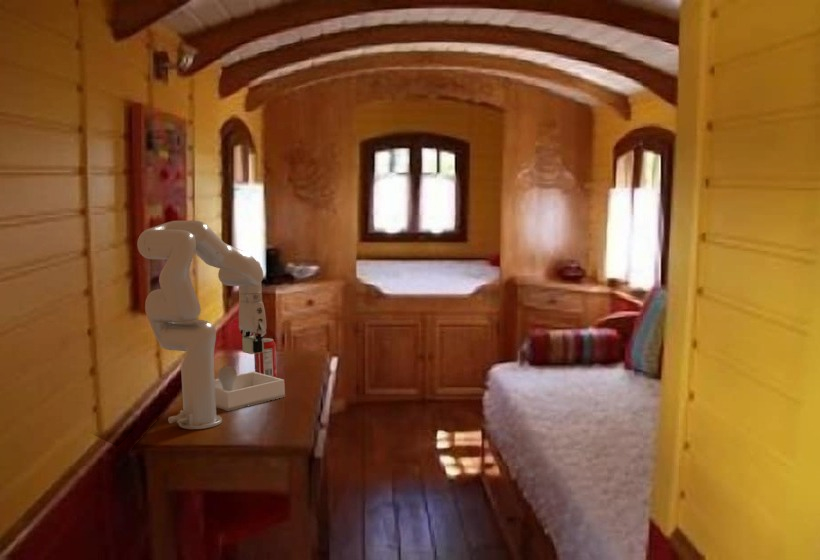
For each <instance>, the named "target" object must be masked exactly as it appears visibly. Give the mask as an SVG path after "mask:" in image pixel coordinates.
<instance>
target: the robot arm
mask: <svg viewBox="0 0 820 560" xmlns="http://www.w3.org/2000/svg"><path fill="white" fill-rule="evenodd" d="M136 245H137V250H138V253H139V254H140V255H141V256H142V257H143V258H145V259H149V260H166V262H165V264H164V266H163V268H162V269H161V272H160V274H159V276H158V277H159V278H158V282H159V288H158V289H154V290H152V291H150V293H148V295H147V296H146V299H145V303H144V305H145V306H144V310H145V314H146V319H148V320H147V321H148V322H149V325H150V327H151V329H152V332H153V334H154V337H155V338H156V341H157V342H158V344H159V345H160V347H161V348H162V349H165V350H167V351H179V352H186V353H187V354H186V356H185V357H184V359H183V361H182V362H181V367H180V368H181V369H180V371H181V372H180V374H181V390H182V391H181V392H182V408H183V409H181V410H180V411H179V413H178V414H176V415H173V416H168V419H167V421H168V423H169V424H174V423H177V424H178V427H180V428H182V429H185V430H205V429H209V428H214V427H216V426H219V425H220V424H221V423H222V422H223V419H222V418H223V417H222V416H220V415H219V414H217V407H216V398H215V380H216V379H215V345H216V342H217V341H216V340H217V330H216V328H215V326H214V324H212V323H211V322H210V321H208V320H203V319H198V318H199V316H200V315H201V303H200V301H199V298H198V296H197V293H196V291H195V288H194V286H193V285H194V284H193V282H192V280H191V276H190V268H191V265H192V264H191V263H192V261H193V258H194V255H196V256H197V257H199V258H200V260H201V261H203V263H204V264H206V265H208V266H210V267H213V268H217V269H218V277H217V278H218V280H219V281H220V283H221V284H223V285H224V286H229V287H238V302H239V304H238V329H239V332H240V334H241V337H242V338H243V337H249V336H253V337H254V341H253V351H254V353H258V352H262V340H263V338H265V337H264V336H265V335H266V334H267V317H266V309H265V306H264V302H263V292H262V291H263V289H262V287H263V285H262V281H263V280H264V272H263V268H262V265H261V263H260V262H259V261H258V260H256V258H255V257H253V255H251V254H249V253H248V252H246V251H244V250H241V249H239V248H237V247H235V246H232V245H230V244H228V243H225V242H224V241H223V240H222V238H220V236H218V235H217V234H216V233H215V231H213V229H211V227H210V226H208V225H207V224H206V223H205V222H203V221H200V220H171V221H167V222H165V223H162V224H159V225H156V226H153V227H151V228H148V229H145V230H144V231H142V232H141V233H140V234H139V237H138V238H137V244H136Z"/></svg>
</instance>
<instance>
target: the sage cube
mask: <svg viewBox="0 0 820 560" xmlns="http://www.w3.org/2000/svg"><path fill="white" fill-rule="evenodd" d="M241 341H242V353H245V354H249V355H254V354H256V353H254V351H253V341H254V337H253V335H251V336H249V337H243V338H242V339H241ZM262 352H264V343H263V340H262ZM258 353H260V352H258Z"/></svg>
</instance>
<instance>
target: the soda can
mask: <svg viewBox="0 0 820 560" xmlns="http://www.w3.org/2000/svg"><path fill="white" fill-rule="evenodd" d="M263 343H264V352H260V353H256V354H253V355H254V356H253V357H254V358H253V360H254V361H253V362H254V372H257V373H261V374H265V375H269V376H272V377H276V378H278V377H277V376H278V372H277V371H278V369H277V368H278V367H277V349H276V348H277V347H276V345H277V344H276V342H275V341H274V339H273V338H270V337H268V338H267V337H263Z"/></svg>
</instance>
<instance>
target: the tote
mask: <svg viewBox="0 0 820 560" xmlns="http://www.w3.org/2000/svg"><path fill="white" fill-rule="evenodd" d="M283 397H284V398H285V397H286V387H285V379H283V378H279V377H272V376H269V375H265V374H261V373H257V372H255V371H249V372H246V373H239V374H237V376H236V379H235V381H234V384H233V390H232V391H225V390H223V387H222V384H221V382H220V381H219V379H218V378H216V379H215V398H216V408H219V409H222V410H224V411H228V412H230V410H231V411H234V410H233V409H235V410H239V409H242V408H241V407H243V408H246V407H245V406H247V407H249V406H248V405H251V406H254V405H259V404H263V402H264V403H267V402H266V401H268V402H271V401H270V400H272V401H274V400H275V399H276V400H280V399H283ZM279 398H280V399H279ZM238 408H239V409H238Z"/></svg>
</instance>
